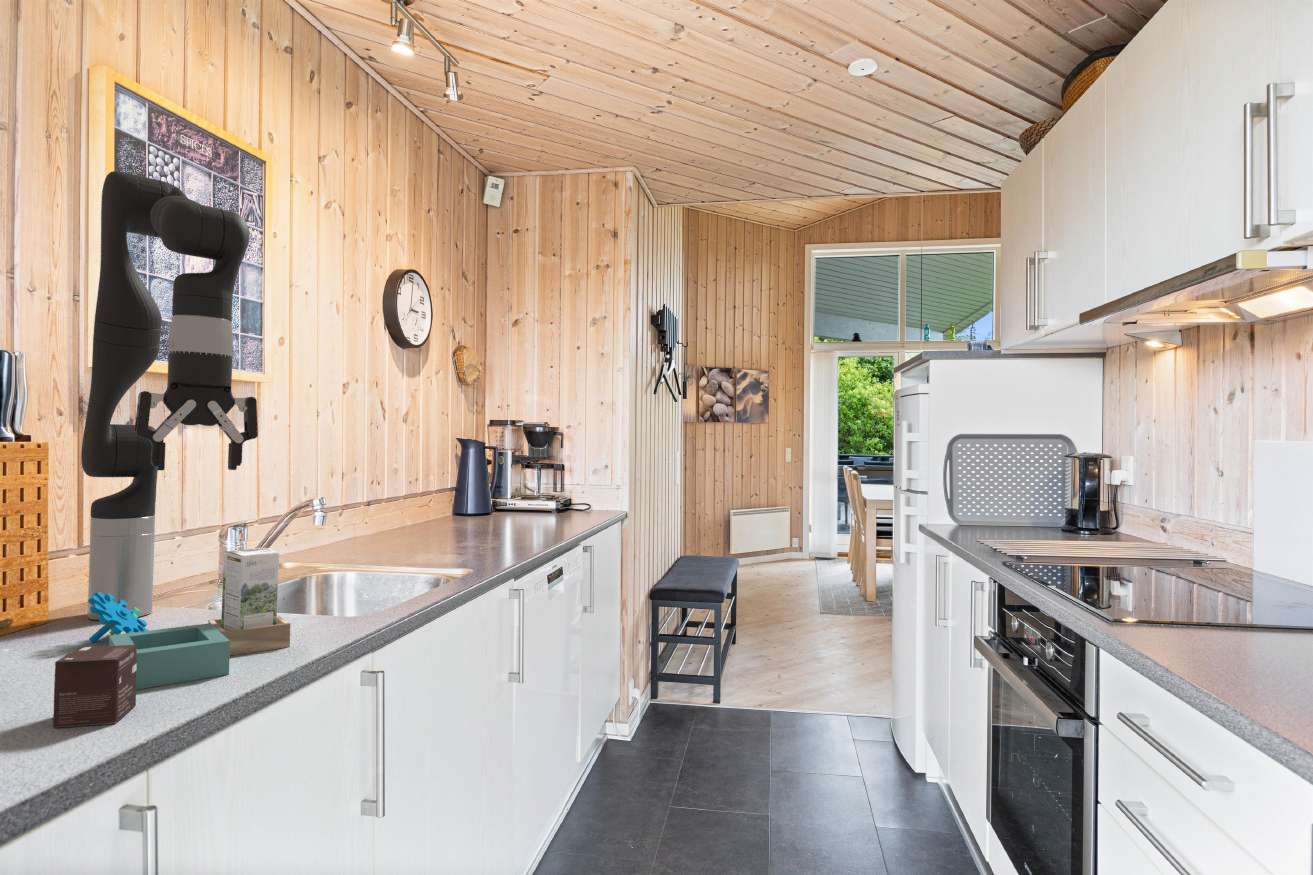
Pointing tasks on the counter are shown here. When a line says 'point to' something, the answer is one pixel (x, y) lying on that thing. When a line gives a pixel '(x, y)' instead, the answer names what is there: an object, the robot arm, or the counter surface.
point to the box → (95, 686)
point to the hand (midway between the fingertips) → (197, 469)
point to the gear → (114, 616)
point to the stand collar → (256, 637)
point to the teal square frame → (177, 654)
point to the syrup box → (249, 588)
